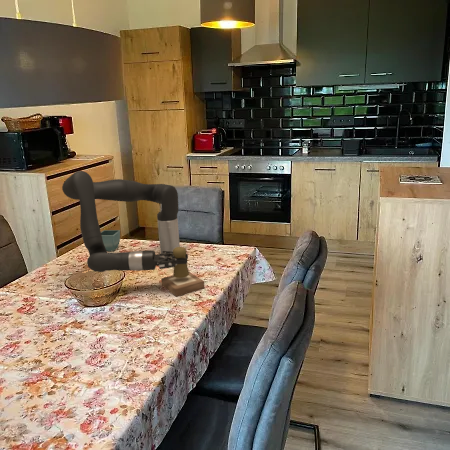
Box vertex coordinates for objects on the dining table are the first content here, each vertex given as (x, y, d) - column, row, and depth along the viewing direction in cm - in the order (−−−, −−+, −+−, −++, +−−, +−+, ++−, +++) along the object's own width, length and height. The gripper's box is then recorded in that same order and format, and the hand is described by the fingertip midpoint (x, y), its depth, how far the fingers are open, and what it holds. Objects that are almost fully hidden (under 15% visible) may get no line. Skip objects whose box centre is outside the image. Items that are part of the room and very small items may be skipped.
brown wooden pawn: (192, 274, 169) (190, 247, 166) (180, 279, 165) (178, 251, 162) (181, 270, 173) (180, 244, 170) (170, 275, 169) (168, 248, 166)
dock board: (161, 285, 173) (161, 278, 172) (188, 278, 179) (188, 270, 178) (176, 296, 162) (175, 289, 161) (204, 288, 168) (204, 280, 167)
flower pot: (98, 252, 215) (96, 235, 213) (106, 246, 223) (103, 230, 221) (115, 252, 214) (113, 235, 211) (122, 247, 222) (120, 230, 219)
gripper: (138, 257, 159) (186, 255, 159) (144, 245, 173) (187, 243, 173) (140, 276, 161) (187, 274, 161) (145, 263, 175) (188, 261, 175)
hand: (187, 258), depth 167 cm, fingers closed on brown wooden pawn, 4 cm apart
